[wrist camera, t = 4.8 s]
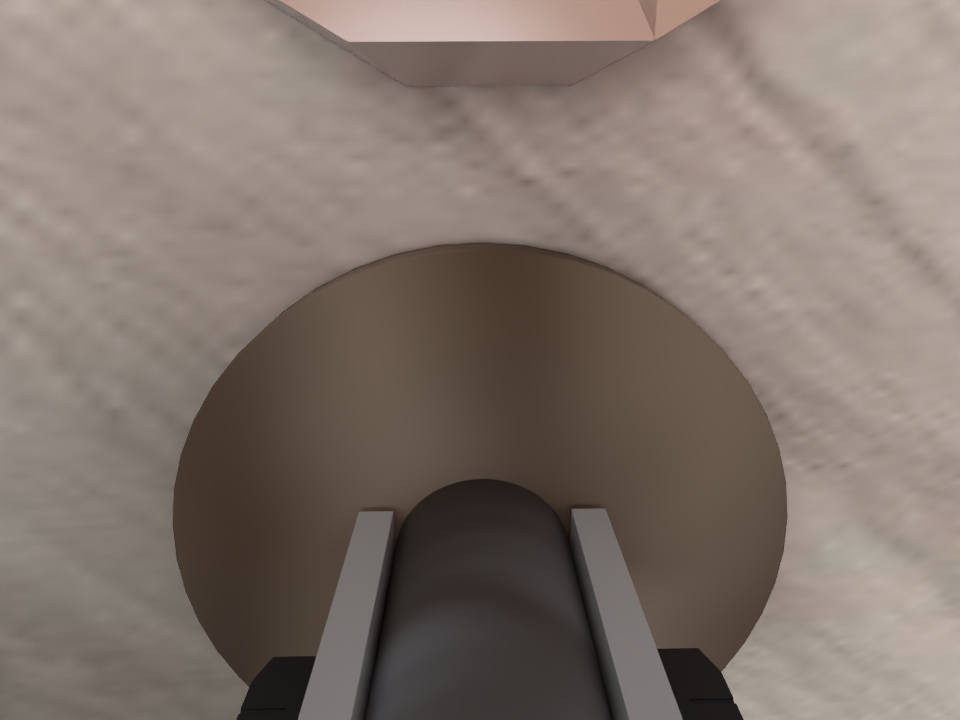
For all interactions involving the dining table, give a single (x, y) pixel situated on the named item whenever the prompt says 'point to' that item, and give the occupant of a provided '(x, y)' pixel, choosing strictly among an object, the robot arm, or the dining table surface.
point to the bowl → (491, 36)
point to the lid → (479, 479)
